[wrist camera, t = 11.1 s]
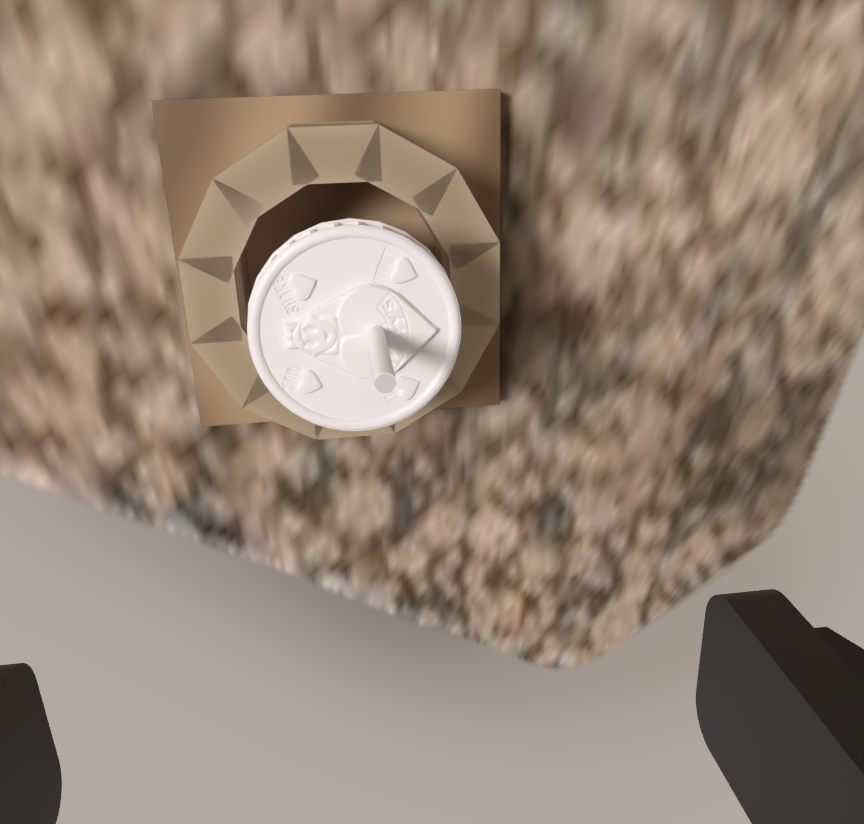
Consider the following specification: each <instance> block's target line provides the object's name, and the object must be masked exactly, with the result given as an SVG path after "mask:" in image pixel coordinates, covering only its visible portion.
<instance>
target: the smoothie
mask: <svg viewBox="0 0 864 824" xmlns="http://www.w3.org/2000/svg"><path fill="white" fill-rule="evenodd" d="M247 336H248V344H249V350H250V353H251V357H252V360H253V363H254V365H255V368H256V370H257V372H258V374H259V376H260V378H261V379H262V381H263V383H264V384H265V386H266V387H267V388H268V390H269V391H270V392H271V393H272V395H273V396H274V397H275V398H276V399H277V400H278V401H279V402H280V403H281V404H283V405H284V406H285V407H286V408H287V409H289V410H290V411H292V412H293V413H294V414H296V415H298V416H300V417H301V418H303V419H305V420H307V421H309V422H312V423H314V424H317V425H320V426H323V427H327V428H331V429H336V430H344V431H364V430H372V429H377V428H382V427H385V426H389V425H392V424H394V423H397V422H399V421H401V420H403V419H405V418H407V417H409V416H411V415H412V414H414V413H415V412H417V411H418V410H420V409H421V408H422V407H424V406H425V405H426V404H427V403H428V402H429V401H430V400H431V399H432V398H433V397H434V396H435V395H436V394H437V393H438V392H439V390H440V389H441V387H442V386H443V385H444V383H445V382H446V380H447V378H448V377H449V375H450V373H451V371H452V369H453V367H454V364H455V361H456V358H457V355H458V351H459V346H460V340H461V316H460V310H459V305H458V301H457V298H456V294H455V292H454V290H453V287H452V285H451V283H450V280H449V278H448V275H447V273H446V271H445V269H444V268H443V267H442V265H441V264H440V263H439V261H438V260H437V259H436V258H435V256H434V255H433V254H432V253H431V251H430V250H429V249H428V248H427V247H426V246H424V245H423V244H422V243H420V242H419V241H418V240H416V239H415V238H413V237H412V236H411V235H409V234H408V233H407V232H405V231H403V230H400V229H398V228H395V227H392V226H390V225H387V224H385V223H382V222H380V221H373V220H363V219H354V218H347V219H341V220H335V221H328V222H322V223H319V224H317V225H315V226H313V227H310V228H308V229H306V230H304V231H302V232H300V233H297V234H295V235H294V236H292V237H291V238H290V239H289V240H288V241H287V242H285V243H284V244H283V245H282V246H281V247H279V248H278V249H277V250H276V251H275V252H274V253H272V255H271V256H270V258H269V259H268V261H267V262H266V264H265V265H264V267H263V268H262V270H261V271H260V273H259V274H258V276H257V278H256V281H255V284H254V287H253V290H252V293H251V296H250V299H249V302H248V320H247Z"/></svg>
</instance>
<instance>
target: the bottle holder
mask: <svg viewBox="0 0 864 824" xmlns="http://www.w3.org/2000/svg"><path fill="white" fill-rule="evenodd" d="M151 101H152V107H153V114H154V120H155V127H156V133H157V140H158V147H159V153H160V160H161V166H162V173H163V179H164V186H165V192H166V199H167V206H168V212H169V219H170V225H171V232H172V238H173V245H174V251H175V258H176V265H177V271H178V278H179V284H180V291H181V297H182V304H183V310H184V317H185V324H186V330H187V337H188V343H189V350H190V356H191V363H192V369H193V376H194V383H195V389H196V396H197V402H198V409H199V415H200V422H201V427H203V426H217V425H230V424H243V423H257V422H270V421H274V422H276V423H278V424H281V425H283V426H285V427H288V428H290V429H292V430H295V431H297V432H300V433H302V434H304V435H307V436H309V437H311V438H314V439H316V440H318V439H331V438H344V437H356V436H369V435H382V434H395V433H396V432H398V431H400V430H401V429H403V428H404V427H406V426H408V425H409V424H411V423H412V422H414V421H416V420H417V419H419V418H420V417H422V416H424V415H425V414H427V413H428V412H430V411H432V410H433V409H443V408H457V407H470V406H483V405H496V404H500V115H501V89H484V90H453V91H422V92H391V93H360V94H329V95H298V96H267V97H236V98H205V99H174V100H151ZM347 218H354V219H363V220H373V221H380V222H382V223H385V224H387V225H390V226H392V227H395V228H398V229H400V230H403V231H405V232H407V233H408V234H409V235H411V236H412V237H413V238H415V239H416V240H418V241H419V242H420V243H422V244H423V245H424V246H426V247H427V248H428V249H429V250H430V251H431V253H432V254H433V255H434V256H435V258H436V259H437V260H438V261H439V263H440V264H441V265H442V267H443V268H444V269H445V271H446V273H447V275H448V278H449V280H450V283H451V285H452V287H453V290H454V292H455V294H456V298H457V301H458V305H459V310H460V316H461V340H460V346H459V351H458V355H457V358H456V361H455V364H454V367H453V369H452V371H451V373H450V375H449V377H448V378H447V380H446V382H445V383H444V385H443V386H442V387H441V389H440V390H439V392H438V393H437V394H436V395H435V396H434V397H433V398H432V399H431V400H430V401H429V402H428V403H427V404H426V405H425V406H424V407H422V408H421V409H420V410H418V411H417V412H415V413H414V414H412V415H411V416H409V417H407V418H405V419H403V420H401V421H399V422H397V423H394V424H392V425H389V426H385V427H382V428H377V429H372V430H364V431H344V430H336V429H331V428H327V427H323V426H320V425H317V424H314V423H312V422H309V421H307V420H305V419H303V418H301V417H300V416H298V415H296V414H294V413H293V412H292V411H290V410H289V409H287V408H286V407H285V406H284V405H283V404H281V403H280V402H279V401H278V400H277V399H276V398H275V397H274V396H273V395H272V393H271V392H270V391H269V390H268V388H267V387H266V386H265V384H264V383H263V381H262V379H261V378H260V376H259V374H258V372H257V370H256V368H255V365H254V363H253V360H252V357H251V353H250V350H249V344H248V336H247V320H248V302H249V299H250V296H251V293H252V290H253V287H254V284H255V281H256V278H257V276H258V274H259V273H260V271H261V270H262V268H263V267H264V265H265V264H266V262H267V261H268V259H269V258H270V256H271V255H272V253H274V252H275V251H276V250H277V249H278V248H279V247H281V246H282V245H283V244H284V243H285V242H287V241H288V240H289V239H290V238H291V237H292V236H294V235H295V234H297V233H300V232H302V231H304V230H306V229H308V228H310V227H313V226H315V225H317V224H319V223H322V222H328V221H335V220H341V219H347Z"/></svg>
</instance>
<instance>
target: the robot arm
mask: <svg viewBox="0 0 864 824" xmlns="http://www.w3.org/2000/svg"><path fill="white" fill-rule="evenodd" d="M702 639H703V640H702V647H701V655H700V664H699V672H698V682H697V689H696V707H697V715H698V720H699V724H700V728H701V732H702V734H703V737H704V740H705V742H706V744H707V746H708V748H709V750H710V752H711V754H712V756H713V757H714V759H715V761H716V762H717V764H718V766H719V768H720V769H721V771H722V773H723V775H724V776H725V778H726V780H727V781H728V783H729V785H730V787H731V788H732V790H733V792H734V793H735V795H736V797H737V799H738V800H739V802H740V804H741V806H742V807H743V809H744V811H745V813H746V814H747V816H748V818H749V819H750V821H751V823H752V824H864V649H862V648H861V647H858V646H857V645H856V644H854V643H852V642H851V641H849V640H847V639H846V638H844V637H842V636H841V635H839V634H837V633H836V632H834V631H833V630H831V629H829V628H828V627H821V628H813V627H812V625H811V624H810V623H809V622H808V621H807V620H806V619H805V618H804V617H803V616H802V615H801V613H800V612H799V611H798V610H797V609H796V608H795V607H794V606H793V605H792V604H791V602H790V601H789V600H788V599H787V598H786V597H785V596H784V595H783V594H782V593H781V592H779V591H777V590H774V589H772V590H771V589H770V590H760V591H750V592H741V593H730V594H721V595H714V596H713V597H711V599H710V600H709V602H708V604H707V607H706V614H705V621H704V630H703V638H702ZM61 789H62V780H61V769H60V763H59V759H58V756H57V752H56V748H55V745H54V741H53V738H52V734H51V731H50V727H49V723H48V720H47V716H46V712H45V709H44V705H43V702H42V698H41V695H40V691H39V687H38V684H37V680H36V677H35V674H34V673H33V670H32V669H31V667H29V666H28V665H27V664H25V663H19V664H9V665H0V824H55V823H56V821H57V816H58V813H59V808H60V800H61Z"/></svg>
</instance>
